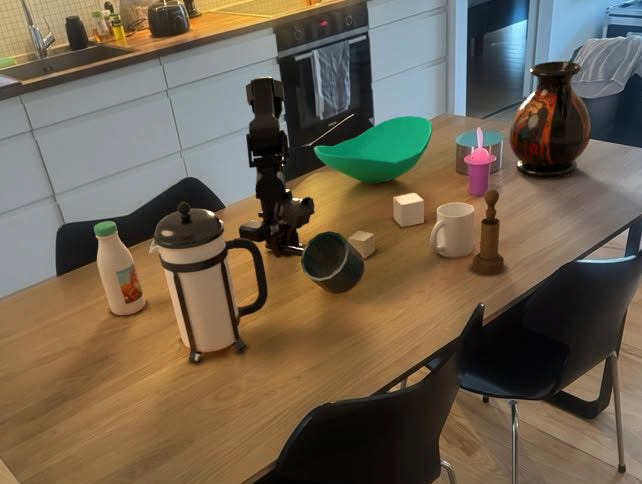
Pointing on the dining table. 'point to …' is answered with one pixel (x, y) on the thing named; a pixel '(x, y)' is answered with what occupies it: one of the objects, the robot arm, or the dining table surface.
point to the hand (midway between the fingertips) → (281, 255)
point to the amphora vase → (550, 124)
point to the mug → (453, 230)
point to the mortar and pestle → (489, 239)
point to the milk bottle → (117, 271)
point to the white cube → (408, 209)
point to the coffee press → (204, 279)
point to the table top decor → (380, 150)
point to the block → (363, 243)
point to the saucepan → (330, 262)
